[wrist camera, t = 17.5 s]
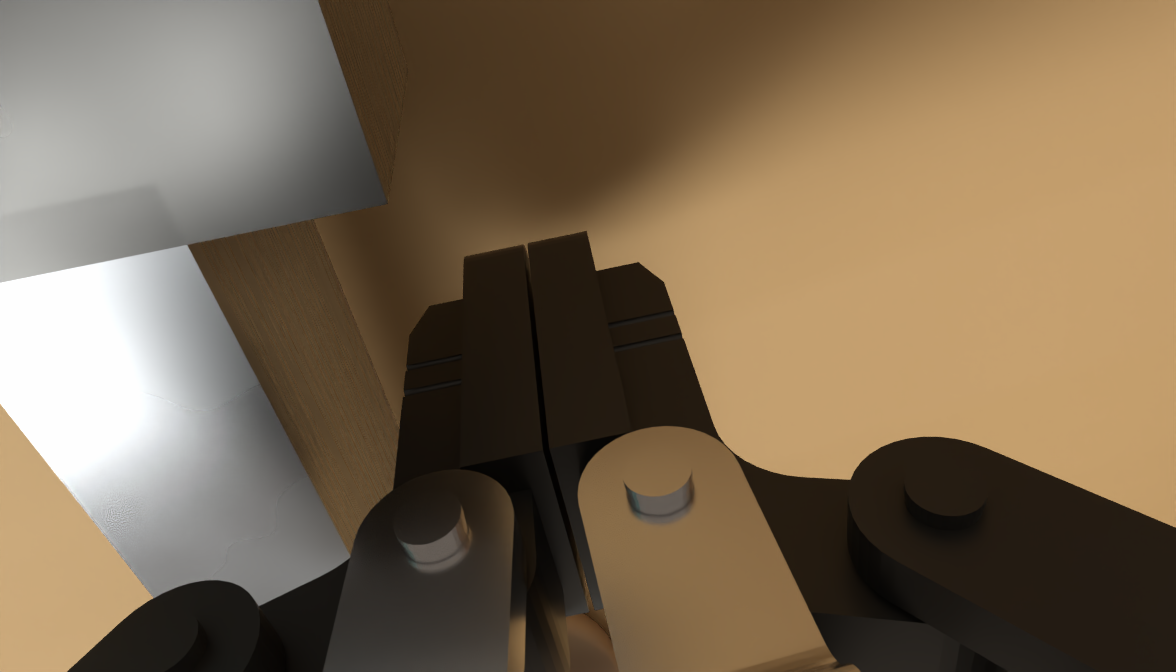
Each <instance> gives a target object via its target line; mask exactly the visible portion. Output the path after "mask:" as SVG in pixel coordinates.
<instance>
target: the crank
mask: <svg viewBox="0 0 1176 672" xmlns="http://www.w3.org/2000/svg"><path fill="white" fill-rule="evenodd" d="M407 75H408V68H407V65H406V61H405V58H404V55H403V51H402V48H401V44H400V41H399V38H398V34H397V31H396V27H395V24H394V21H393V17H392V14H391V10H390V7H389V4H388V0H0V404H1V405H2V406H3V407H4V409H5V410H6V411H7V412H8V414H9V415H10V416H11V417H12V419H13V420H14V421H15V423H16V424H17V425H18V426H19V428H20V429H21V430H22V431H23V433H24V434H25V435H26V437H27V438H28V439H29V440H30V442H31V443H32V444H33V445H34V447H35V448H36V449H37V450H38V452H39V453H40V454H41V456H42V457H43V458H44V459H45V461H46V462H47V463H48V464H49V466H50V467H51V468H52V470H53V471H54V472H55V473H56V475H57V476H58V477H59V478H60V480H61V481H62V482H63V483H64V485H65V486H66V487H67V489H68V490H69V491H70V492H71V494H72V495H73V496H74V497H75V499H76V500H77V501H78V503H79V504H80V505H81V506H82V508H83V509H84V510H85V511H86V513H87V514H88V515H89V517H90V518H91V519H92V520H93V522H94V523H95V524H96V525H97V527H98V528H99V529H100V530H101V532H102V533H103V534H104V536H105V537H106V538H107V539H108V541H109V542H110V543H111V544H112V546H113V547H114V548H115V550H116V551H117V552H118V553H119V555H120V556H121V557H122V558H123V560H124V561H125V562H126V563H127V565H128V566H129V567H130V569H131V570H132V571H133V572H134V574H135V575H136V576H137V577H138V579H139V580H140V581H141V583H142V584H143V585H144V586H145V588H146V589H147V590H148V591H149V593H150V594H151V595H152V596H153V598H155V597H157V596H159V595H161V594H162V593H164V592H167V591H169V590H171V589H174V588H176V587H179V586H182V585H186V584H189V583H192V582H198V581H205V580H221V581H227V582H231V583H234V584H236V585H239V586H241V587H242V588H244V589H245V590H246V591H248V592H249V593H250V595H251V596H252V597H253V599H254V600H255V601H256V603H257V604H258V606H260V605H262V604H264V603H266V602H268V601H270V600H272V599H275V598H277V597H279V596H281V595H283V594H285V593H287V592H289V591H291V590H293V589H295V588H297V587H299V586H302V585H304V584H306V583H308V582H310V581H312V580H314V579H316V578H318V577H320V576H322V575H324V574H326V573H327V572H329V571H331V570H333V569H335V568H336V567H338V566H339V565H341V564H342V563H343V562H345V561H346V560H348V559H349V558H350V555H351V551H352V547H353V543H354V540H355V537H356V534H357V531H358V529H359V527H360V525H361V523H362V521H363V520H364V518H365V517H366V516H367V514H368V513H369V512H370V510H371V509H372V508H373V507H374V506H375V505H376V504H377V503H378V502H379V501H380V500H381V499H382V498H383V497H385V496H386V495H387V494H388V493H390V492H391V491H392V490H393V485H394V476H395V466H396V457H397V448H398V438H399V427H398V425H397V423H396V420H395V418H394V415H393V413H392V410H391V408H390V405H389V403H388V401H387V398H386V396H385V393H384V391H383V388H382V386H381V383H380V381H379V379H378V376H377V374H376V371H375V369H374V366H373V364H372V361H371V359H370V356H369V354H368V352H367V349H366V347H365V344H364V342H363V339H362V337H361V334H360V332H359V330H358V327H357V325H356V322H355V320H354V317H353V315H352V312H351V310H350V308H349V305H348V303H347V300H346V298H345V295H344V293H343V290H342V288H341V286H340V283H339V281H338V278H337V276H336V273H335V271H334V268H333V266H332V264H331V261H330V259H329V256H328V254H327V251H326V249H325V246H324V244H323V242H322V239H321V237H320V234H319V232H318V229H317V227H316V224H315V222H314V220H313V219H316V218H321V217H326V216H331V215H336V214H341V213H346V212H351V211H355V210H360V209H365V208H370V207H375V206H380V205H385V204H388V199H389V192H390V186H391V179H392V173H393V166H394V160H395V153H396V147H397V140H398V134H399V127H400V121H401V114H402V108H403V101H404V95H405V88H406V82H407Z"/></svg>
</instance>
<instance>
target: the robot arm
mask: <svg viewBox="0 0 1176 672" xmlns="http://www.w3.org/2000/svg"><path fill="white" fill-rule="evenodd" d="M528 254H529V257H528ZM528 254H527V251H526V248H525V245H524V244H523V245H518V246H513V247H509V248H504V249H499V250H494V251H490V252H485V253H480V254H475V255H470V256H466V257H464V271H463V299H461V300H456V301H451V302H446V303H442V304H437V305H432V306H429V308H428V309H427V310H426V312H425V313H424V315H423V316H422V318H421V319H420V321H419V322H418V324H417V325H416V327H415V328H414V330H413V331H412V332H411V334H410V336H409V345H408V354H407V364H406V366H407V371H406V373H405V382H404V393H405V397H403V401H402V410H401V420H400V429H399V438H398V448H397V457H396V466H395V476H394V485H393V490H392V491H391V492H390V493H388V494H387V495H386V496H385V497H383V498H382V499H381V500H380V501H379V502H378V503H377V504H376V505H375V506H374V507H373V508H372V509H371V510H370V512H369V513H368V514H367V516H366V517H365V518H364V520H363V521H362V523H361V525H360V527H359V529H358V531H357V534H356V537H355V540H354V543H353V547H352V551H351V555H350V558H349V559H348V560H346V561H345V562H343V563H342V564H341V565H339V566H338V567H336V568H335V569H333V570H331V571H329V572H327V573H326V574H324V575H322V576H320V577H318V578H316V579H314V580H312V581H310V582H308V583H306V584H304V585H302V586H299V587H297V588H295V589H293V590H291V591H289V592H287V593H285V594H283V595H281V596H279V597H277V598H275V599H272V600H270V601H268V602H266V603H264V604H262V605H260V606H258V604H257V603H256V601H255V600H254V599H253V597H252V596H251V595H250V593H249V592H248V591H246V590H245V589H244V588H242V587H241V586H239V585H236V584H234V583H231V582H227V581H221V580H205V581H198V582H192V583H189V584H186V585H182V586H179V587H176V588H174V589H171V590H169V591H167V592H164V593H162V594H161V595H159V596H157V597H155V598H153V599H151V600H150V601H148V602H147V603H145V604H144V605H142V606H141V607H139V608H138V609H136V610H135V611H134V612H132V613H131V614H130V615H129V616H128V617H126V618H125V619H124V620H123V621H122V622H121V623H119V624H118V625H117V626H116V627H115V628H114V629H113V630H112V631H111V632H110V633H109V634H107V635H106V636H105V637H104V638H103V639H102V640H101V641H100V642H99V643H98V644H97V645H96V646H94V647H93V648H92V649H91V650H90V651H89V652H88V653H87V654H86V655H85V656H84V657H83V658H81V659H80V660H79V661H78V662H77V663H76V664H75V665H74V666H73V667H72V668H71V669H69V670H68V671H67V672H570V652H569V643H568V633H567V624H566V617H568V616H573V615H578V614H583V613H588V612H589V606H588V599H587V591H586V583H585V578H586V581H587V585H588V588H589V592H590V595H591V599H592V603H593V606H594V610H600V609H604V611H605V615H606V620H607V624H608V628H609V632H610V636H611V640H612V644H613V649H614V653H615V657H616V661H617V665H618V669H619V672H1176V528H1175V527H1173V526H1170V525H1168V524H1165V523H1163V522H1161V521H1158V520H1156V519H1154V518H1151V517H1149V516H1146V515H1144V514H1142V513H1139V512H1137V511H1135V510H1132V509H1130V508H1127V507H1125V506H1123V505H1120V504H1118V503H1116V502H1113V501H1111V500H1108V499H1106V498H1104V497H1101V496H1099V495H1097V494H1094V493H1092V492H1089V491H1087V490H1085V489H1082V488H1080V487H1077V486H1075V485H1073V484H1070V483H1068V482H1066V481H1063V480H1061V479H1058V478H1056V477H1054V476H1051V475H1049V474H1047V473H1044V472H1042V471H1039V470H1037V469H1035V468H1032V467H1030V466H1028V465H1025V464H1023V463H1020V462H1018V461H1016V460H1013V459H1011V458H1009V457H1006V456H1004V455H1001V454H999V453H997V452H994V451H992V450H990V449H987V448H985V447H982V446H979V445H976V444H973V443H970V442H966V441H962V440H958V439H952V438H943V437H917V438H909V439H904V440H900V441H896V442H893V443H890V444H888V445H885V446H883V447H881V448H879V449H878V450H876V451H874V452H873V453H871V454H870V455H868V456H867V457H866V458H865V459H864V460H863V461H862V462H861V463H860V464H859V466H858V467H857V468H856V470H855V471H854V473H853V476H852V478H851V480H842V479H824V478H806V477H795V476H787V475H782V474H778V473H773V472H770V471H767V470H764V469H761V468H759V467H756V466H754V465H752V464H750V463H748V462H746V461H745V460H743V459H742V458H740V457H739V456H737V455H736V454H734V453H733V452H732V451H731V450H730V449H729V448H728V447H727V446H726V445H725V444H724V442H723V441H722V440H721V438H720V437H719V436H718V433H717V431H716V429H715V427H714V424H713V422H712V419H711V416H710V413H709V410H708V407H707V404H706V402H705V399H704V396H703V393H702V390H701V387H700V384H699V381H698V379H697V376H696V373H695V370H694V367H693V364H692V361H691V359H690V356H689V353H688V350H687V347H686V344H685V341H684V339H683V338H682V333H681V330H680V327H679V324H678V321H677V318H676V316H675V315H674V310H673V307H672V304H671V301H670V298H669V296H668V293H667V290H666V287H665V284H664V282H663V281H662V280H660V279H659V278H658V277H657V276H655V275H654V274H653V273H651V272H650V271H649V270H648V269H646V268H645V267H644V266H642V265H641V264H640V263H639V262H637V263H633V264H628V265H623V266H618V267H613V268H609V269H604V270H599V271H596V270H595V265H594V261H593V257H592V252H591V248H590V244H589V239H588V235H587V231H584V232H579V233H575V234H570V235H565V236H560V237H555V238H551V239H546V240H541V241H536V242H532V243H528ZM584 574H585V576H584Z"/></svg>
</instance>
